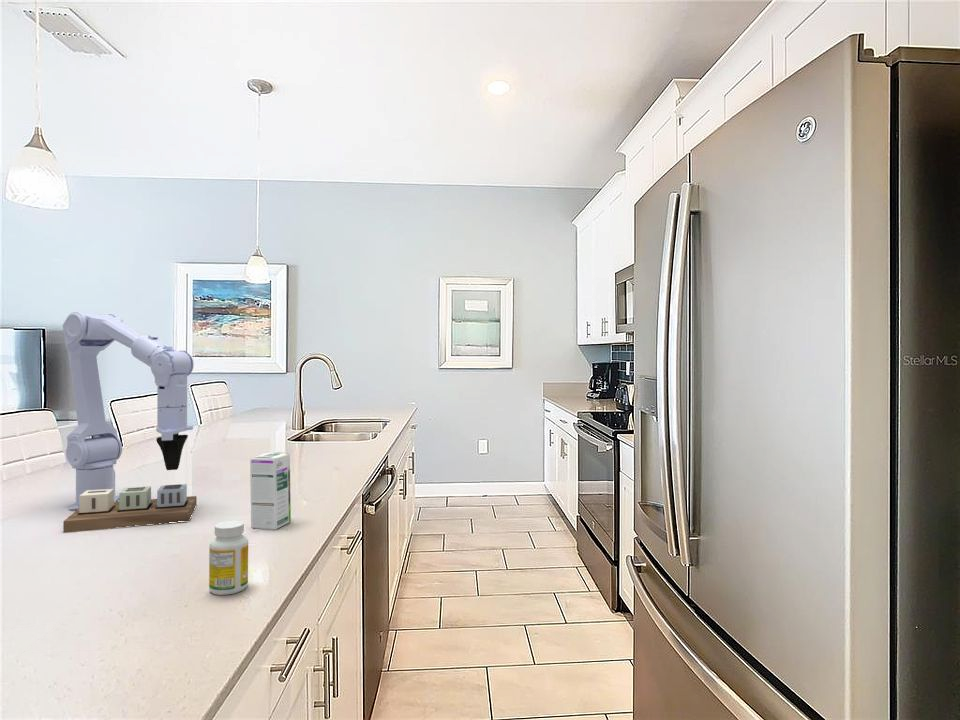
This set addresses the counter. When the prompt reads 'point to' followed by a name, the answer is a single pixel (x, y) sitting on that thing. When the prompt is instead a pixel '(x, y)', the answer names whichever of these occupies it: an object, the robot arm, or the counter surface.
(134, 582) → the counter surface
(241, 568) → the supplement bottle
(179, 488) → the tile three
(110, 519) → the frame
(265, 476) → the syrup box
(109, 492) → the tile one
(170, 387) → the robot arm
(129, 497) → the tile two
